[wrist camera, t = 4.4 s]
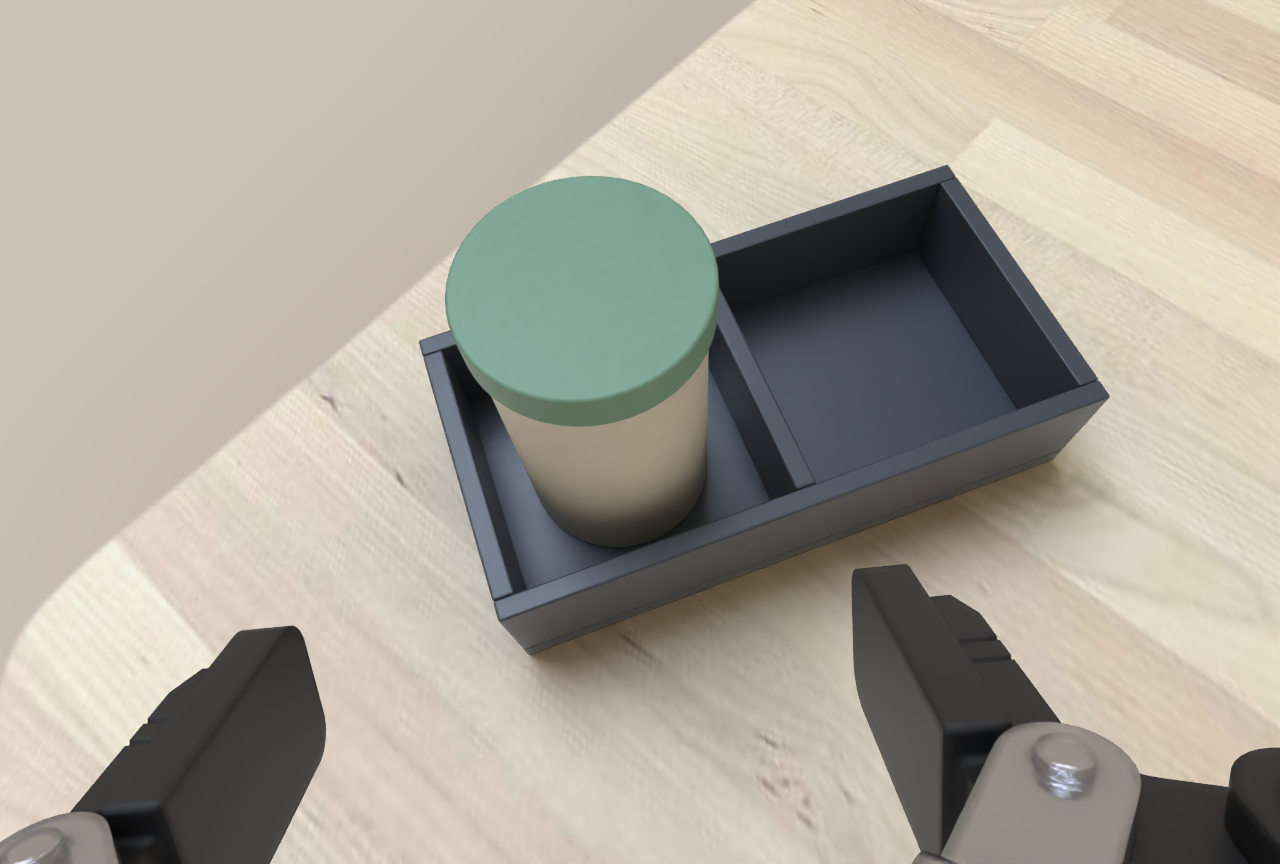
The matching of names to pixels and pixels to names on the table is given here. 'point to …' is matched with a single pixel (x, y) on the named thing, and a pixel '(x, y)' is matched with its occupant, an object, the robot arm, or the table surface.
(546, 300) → the container
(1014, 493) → the table surface
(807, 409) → the divided tray
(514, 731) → the table surface
